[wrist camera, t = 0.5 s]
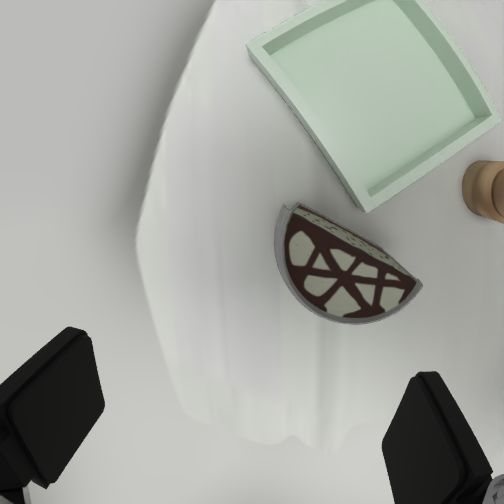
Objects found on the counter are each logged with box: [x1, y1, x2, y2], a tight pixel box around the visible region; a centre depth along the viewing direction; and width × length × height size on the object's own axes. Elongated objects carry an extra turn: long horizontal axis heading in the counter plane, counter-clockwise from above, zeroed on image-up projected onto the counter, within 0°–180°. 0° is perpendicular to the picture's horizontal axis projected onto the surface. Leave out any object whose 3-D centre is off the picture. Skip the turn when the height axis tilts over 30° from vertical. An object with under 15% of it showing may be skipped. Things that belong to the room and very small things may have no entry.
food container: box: [274, 202, 423, 325], centre depth 26 cm, size 12×6×10 cm, turn 64°
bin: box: [246, 0, 502, 213], centre depth 24 cm, size 18×18×4 cm
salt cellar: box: [462, 161, 504, 223], centre depth 25 cm, size 6×6×6 cm
